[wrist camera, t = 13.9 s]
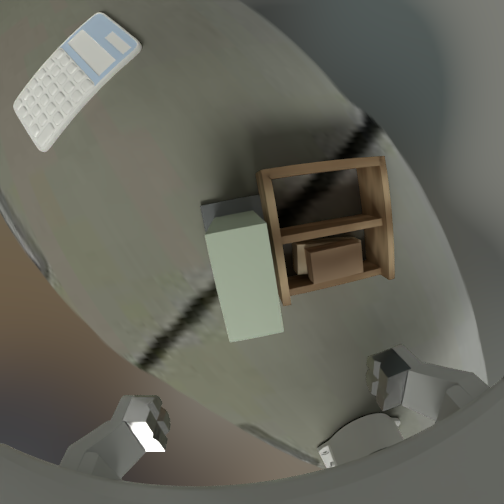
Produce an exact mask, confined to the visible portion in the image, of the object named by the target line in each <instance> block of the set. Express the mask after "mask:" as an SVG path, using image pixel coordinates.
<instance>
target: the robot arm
mask: <svg viewBox="0 0 504 504" xmlns="http://www.w3.org/2000/svg"><path fill="white" fill-rule="evenodd" d="M366 365H367V366H368V368H369V370H368V371H367V372H366V383H367V387H368V389H369V391H370V393H371V394H372V395H375V396H376V402H377V404H378V405H379V407H380V408H381V410H382V411H386V410H388V409H391V408H393V407H396V406H398V405H401V404H402V406H404V407H406V408H409V409H411V410H413V411H415V412H417V413H419V414H422V415H424V416H426V417H428V418H430V419H433V420H435V421H436V422H435V424H434V425H432V426H430V427H429V428H427V429H425V430H423V431H421V432H419V433H417V434H415V435H413V436H411V437H409V438H407V439H405V440H404V438H403V436H402V434H401V432H400V431H399V429H398V426H399V424H400V420H399V418H391V417H389V416H388V415H387V414H383V413H376V414H370V415H367V416H364V417H361V418H359V419H357V420H355V421H353V422H351V423H349V424H347V425H346V426H344V427H343V428H342V429H340V430H339V431H338V432H337V433H336V434H335V435H334V436H333V437H332V438H331V439H330V440H329V441H327V442H325V443H324V444H322V445H321V446H319V447H318V449H317V450H318V452H319V454H320V456H321V458H322V460H323V462H324V464H325V466H326V468H327V469H323V470H319V471H316V472H312V473H307V474H303V475H299V476H294V477H289V478H283V479H278V480H271V481H265V482H257V483H249V484H239V485H226V486H166V485H153V484H143V483H134V482H127V481H123V480H122V479H121V478H122V477H123V475H124V474H125V473H126V472H127V471H128V470H129V469H130V468H131V467H132V466H133V465H134V464H135V463H136V462H137V461H138V460H139V459H140V458H141V457H142V456H143V455H144V453H145V452H146V451H165V449H166V444H167V437H166V436H165V435H166V434H167V433H168V432H169V430H170V418H169V414H168V412H167V411H166V410H165V409H164V408H162V407H161V405H162V401H161V399H160V397H159V396H156V395H135V396H129V395H124V396H123V397H122V398H121V400H120V402H119V404H118V406H117V408H116V410H115V412H114V414H113V417H112V419H111V421H106V422H105V423H104V424H102V425H101V426H99V427H98V428H97V429H95V430H93V431H92V432H90V433H89V434H87V435H86V436H84V437H83V438H82V439H80V440H78V441H77V442H75V443H74V444H72V445H70V446H69V447H68V449H67V451H66V453H65V455H64V457H63V459H62V461H61V463H60V465H59V466H58V465H55V464H52V463H49V462H46V461H43V460H41V459H38V458H35V457H33V456H30V455H28V454H25V453H23V452H21V451H18V450H16V449H14V448H11V447H10V446H8V445H5V444H1V443H0V504H504V377H503V378H501V379H500V380H499V381H498V382H497V383H495V384H494V385H493V386H492V387H489V386H488V385H486V384H485V383H484V382H483V381H482V380H481V379H480V378H479V377H477V376H476V375H475V374H474V373H472V372H467V371H462V370H457V369H452V368H448V367H443V366H439V365H434V364H430V363H426V362H425V363H423V364H422V363H421V362H420V361H419V360H418V359H417V358H416V357H415V356H414V355H413V354H412V353H411V352H410V351H409V350H408V349H407V348H406V347H405V346H404V345H402V344H399V345H397V346H394V347H392V348H390V349H387V350H385V351H382V352H379V353H376V354H373V355H371V356H368V358H367V364H366Z"/></svg>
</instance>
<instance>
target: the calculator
mask: <svg viewBox="0 0 504 504" xmlns="http://www.w3.org/2000/svg"><path fill="white" fill-rule="evenodd" d="M141 49H142V45H141V43H140V42H139V41H138V40H137V39H136V38H135V37H134V36H132V35H131V34H130V33H129V32H127V31H126V30H125V29H124V28H123V27H121V26H120V25H119V24H117V23H116V22H115V21H114V20H112V19H111V18H110V17H109V16H107V15H106V14H104V13H102V12H98V13H96V14H94V15H93V16H92V17H90V18H89V19H88V20H87V21H86V22H85V23H83V24H82V25H81V26H80V27H79V28H78V29H77V30H76V31H75V32H74V33H73V34H72V35H70V36H69V37H68V38H67V39H66V40H65V41H64V42H63V43H62V44H61V45H60V46H59V47H58V49H57V50H56V51H55V52H54V53H53V54H52V55H51V56H50V57H49V58H48V59H47V61H46V62H45V63H44V64H43V65H42V66H41V67H40V69H39V70H38V71H37V72H36V74H35V75H34V76H33V77H32V78H31V80H30V81H29V82H28V84H27V85H26V86H25V88H24V89H23V90H22V92H21V93H20V94H19V96H18V97H17V99H16V100H15V102H14V105H13V108H14V110H15V112H16V114H17V116H18V118H19V119H20V121H21V123H22V124H23V126H24V128H25V129H26V131H27V132H28V134H29V136H30V137H31V139H32V140H33V142H34V144H35V145H36V147H37V148H38V149H39V150H40V151H42V152H46V151H48V150H49V149H50V147H51V146H52V145H53V144H54V142H55V141H56V140H57V138H58V137H59V136H60V134H61V133H62V132H63V130H64V129H65V128H66V127H67V125H68V124H69V123H70V122H71V121H72V119H73V118H74V117H75V116H76V115H77V113H78V112H79V111H80V110H81V109H82V108H83V107H84V105H85V104H86V103H87V102H88V101H89V100H90V99H91V98H92V97H93V96H94V95H95V94H96V93H97V92H98V91H99V90H100V88H101V87H102V86H103V85H104V84H105V83H106V82H108V81H109V80H110V79H111V78H112V77H113V76H114V75H115V74H116V73H117V72H118V71H119V70H120V69H121V68H122V67H124V66H125V65H126V64H127V63H128V62H129V61H130V60H132V59H133V58H134V57H135V56H136V55H137V54H138V53H139V52H140V51H141ZM53 76H54V77H53Z"/></svg>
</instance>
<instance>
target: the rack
mask: <svg viewBox="0 0 504 504" xmlns="http://www.w3.org/2000/svg"><path fill="white" fill-rule="evenodd" d="M354 168H356V169H357V176H358V183H359V190H360V197H361V206H362V214H359V215H353V216H347V217H341V218H336V219H330V220H324V221H318V222H313V223H307V224H302V225H296V226H291V227H285V228H280V227H279V221H278V215H277V209H276V203H275V198H274V192H273V186H272V181H271V179H278V178H284V177H291V176H298V175H305V174H312V173H320V172H328V171H336V170H345V169H354ZM255 174H256V180H257V185H258V191H259V195H260V200H261V205H262V211H263V217H264V221H265V222H266V224H267V229H268V235H269V241H270V247H271V253H272V259H273V265H274V271H275V277H276V284H277V290H278V295H279V297H280V299H281V301H282V303H283V306H287V305H291V300H290V296H293V295H297V294H302V293H306V292H311V291H315V290H319V289H324V288H328V287H332V286H336V285H340V284H345V283H349V282H353V281H357V280H361V279H364V278H368V277H372V276H376V275H382V276H383V277H385V278H387V279H388V280H391V279H394V278H395V270H394V238H393V223H392V210H391V200H390V191H389V183H388V176H387V169H386V162H385V156H377V157H363V158H351V159H340V160H330V161H321V162H313V163H305V164H297V165H290V166H283V167H276V168H270V169H263V170H260V171H259V172H257V173H255ZM361 229H364V235H365V248H366V260H363V272H362V273H358V274H354V275H350V276H347V277H343V278H339V279H334V280H330V281H326V282H322V283H318V284H314V283H313V282H312V281H311V280H310V279H309V278H308V274H302V275H295V276H291V277H287V272H286V266H285V259H284V253H283V246H282V245H283V244H288V243H293V242H298V241H303V240H309V239H314V238H319V237H324V236H330V235H335V234H340V233H345V232H350V231H356V230H361Z"/></svg>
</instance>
